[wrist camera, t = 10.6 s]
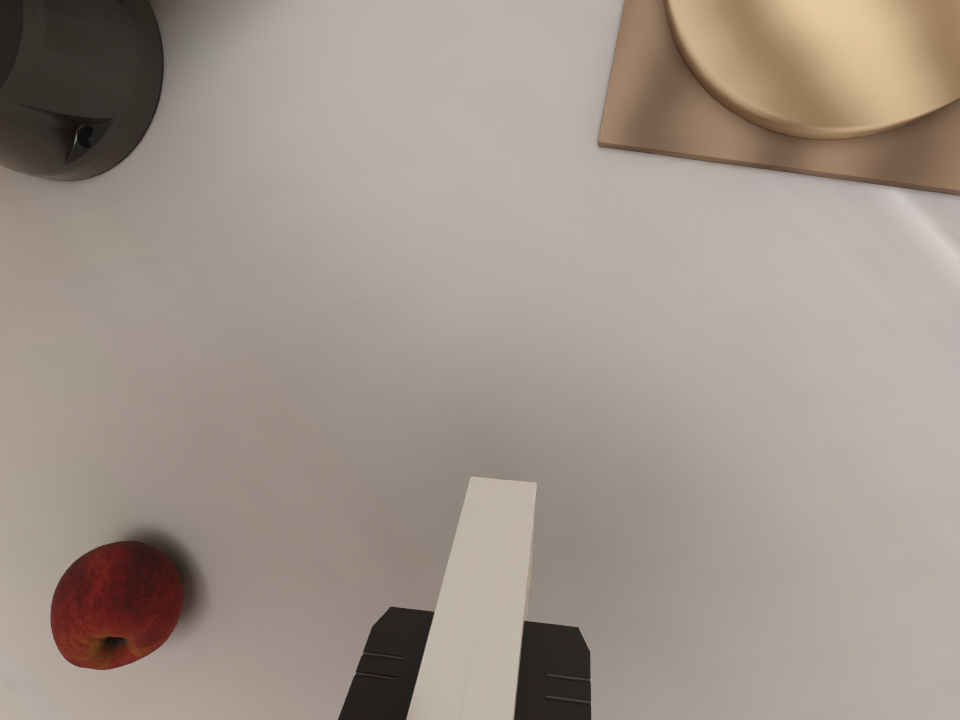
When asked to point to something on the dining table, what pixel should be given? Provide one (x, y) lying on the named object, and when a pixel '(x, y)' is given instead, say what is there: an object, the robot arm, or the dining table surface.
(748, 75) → the cam dial
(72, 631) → the apple
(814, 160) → the dial base
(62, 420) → the dining table surface
